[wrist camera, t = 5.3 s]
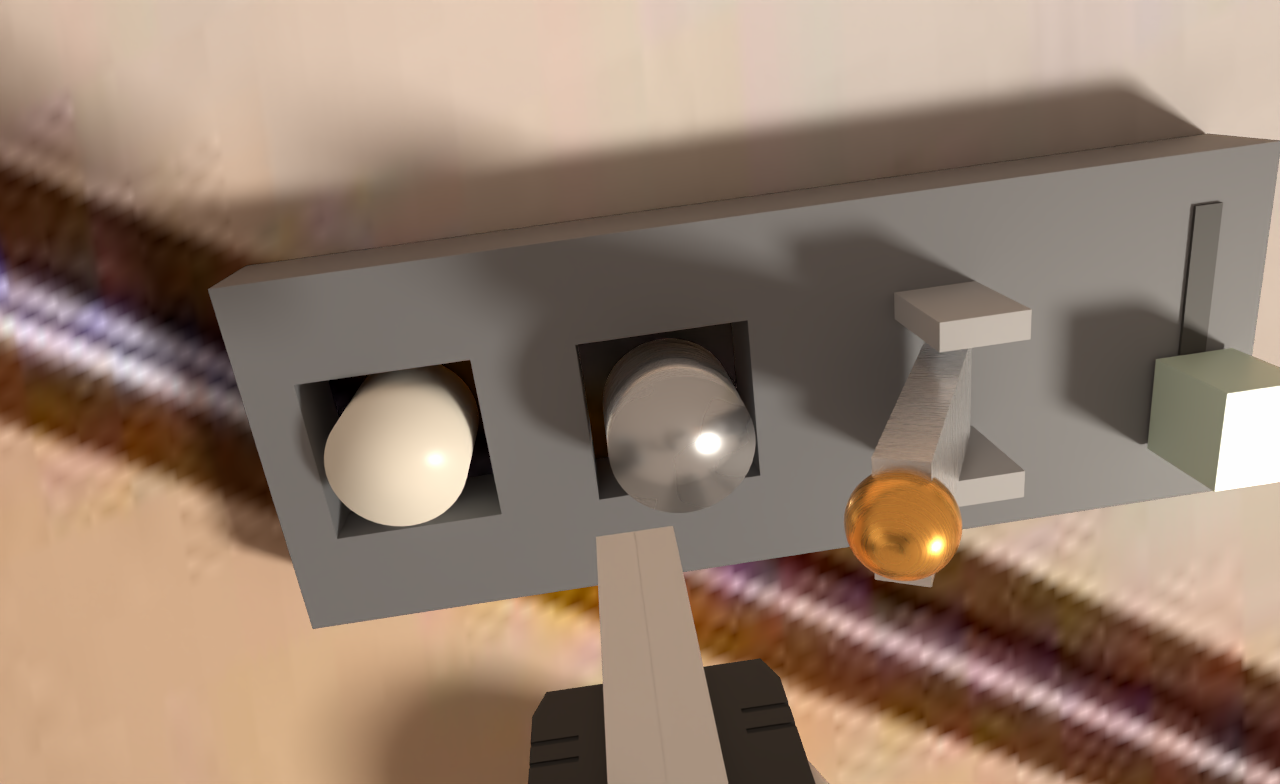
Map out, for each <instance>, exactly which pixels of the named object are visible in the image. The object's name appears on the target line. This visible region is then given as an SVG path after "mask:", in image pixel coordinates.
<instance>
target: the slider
mask: <svg viewBox="0 0 1280 784" xmlns="http://www.w3.org/2000/svg"><path fill="white" fill-rule="evenodd" d="M1147 449H1149V450H1150V451H1152V452H1153V453H1155V454H1156V455H1158V456H1160V457H1161V458H1163V459H1164V460H1166V461H1167V462H1169V463H1170V464H1172V465H1174V466H1175V467H1177V468H1178V469H1180V470H1181V471H1183V472H1184V473H1186V474H1188V475H1189V476H1191V477H1192V478H1194V479H1195V480H1197V481H1198V482H1200V483H1202V484H1203V485H1205V486H1206V487H1208V488H1209V489H1211V490H1212V491H1214V492H1216V491H1223V490H1229V489H1236V488H1242V487H1249V486H1255V485H1262V484H1269V483H1275V482H1280V367H1277V366H1275V365H1272V364H1270V363H1268V362H1265V361H1263V360H1260V359H1258V358H1255V357H1253V356H1251V355H1248V354H1246V353H1243V352H1241V351H1238V350H1236V349H1234V348H1228V349H1221V350H1214V351H1208V352H1201V353H1194V354H1187V355H1180V356H1174V357H1167V358H1160V359H1156V363H1155V373H1154V384H1153V394H1152V404H1151V415H1150V425H1149V435H1148V446H1147Z"/></svg>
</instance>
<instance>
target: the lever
mask: <svg viewBox="0 0 1280 784" xmlns="http://www.w3.org/2000/svg"><path fill="white" fill-rule="evenodd" d="M971 355H972V348H967V349H960V350H954V351H947V352H938V351H937V350H936V349H934V348H933V347H932V346H930V345H929V344H927V343H926V342H925V341H924V343H923V346H922V348H921V350H920V352H919V354H918V357H917V359H916V361H915V363H914V365H913V368H912V370H911V372H910V374H909V376H908V378H907V381H906V383H905V385H904V387H903V389H902V392H901V394H900V396H899V398H898V400H897V403H896V405H895V407H894V409H893V411H892V414H891V416H890V418H889V420H888V422H887V424H886V427H885V429H884V431H883V433H882V435H881V438H880V440H879V442H878V444H877V446H876V449H875V451H874V453H873V455H872V457H871V460H872V474H871V475H869V476H868V477H867V478H865V479H864V480H863V481H862V482H861V483H860V484H859V485H858V486H857V487H856V488H855V489H854V491H853V492H852V494H851V496H850V498H849V500H848V502H847V505H846V508H845V514H844V529H845V534H846V538H847V541H848V544H849V546H850V548H851V549H852V551H853V553H854V554H855V556H856V557H857V559H858V560H859V561H860V562H861V563H862V564H863V565H864V566H866V567H867V568H868V569H870V570H871V571H872V572H874V573H875V579H876V580H883V581H890V582H897V583H904V584H911V585H918V586H925V587H932V584H933V580H934V576H935V573H937V572H938V571H939V570H941V569H942V568H943V567H945V566H946V565H947V564H948V563H949V561H950V560H951V559H952V557H953V556H954V554H955V553H956V551H957V549H958V546H959V544H960V540H961V535H962V518H961V513H960V509H959V506H958V504H957V502H956V500H955V498H954V497H955V493H956V489H957V485H958V481H959V477H960V473H961V469H962V465H963V461H964V457H965V453H966V449H967V445H968V441H969V437H970V418H971Z"/></svg>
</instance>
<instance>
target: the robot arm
mask: <svg viewBox="0 0 1280 784" xmlns="http://www.w3.org/2000/svg"><path fill="white" fill-rule="evenodd" d="M596 547H597V569H598V590H599V611H600V633H601V654H602V675H603V684H599V685H592V686H585V687H579V688H572V689H565V690H559V691H552V692H546V694H545V696H544V698H543V699H542V701H541V703H540V705H539V706H538V708H537V710H536V711H535V713H534V715H533V717H532V732H531V748H530V769H529V779H528V784H816V783H815V780H814V777H813V774H812V772H811V769H810V766H809V763H808V760H807V757H806V754H805V751H804V748H803V745H802V742H801V739H800V736H799V733H798V730H797V727H796V726H795V721H794V718H793V715H792V712H791V709H790V706H789V705H788V700H787V697H786V694H785V691H784V688H783V685H782V682H781V679H780V677H779V676H778V675H777V674H776V673H775V672H774V671H773V670H772V669H771V668H770V667H768V666H767V665H766V664H765V663H764V662H763V661H762V660H761V659H754V660H747V661H740V662H733V663H727V664H720V665H713V666H706V667H703V663H702V659H701V654H700V649H699V645H698V640H697V635H696V631H695V626H694V621H693V617H692V612H691V607H690V603H689V598H688V594H687V589H686V584H685V580H684V575H683V570H682V566H681V561H680V556H679V552H678V547H677V542H676V538H675V533H674V528H673V526H668V527H661V528H654V529H647V530H640V531H633V532H627V533H620V534H613V535H606V536H599V537H596Z"/></svg>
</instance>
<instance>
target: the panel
mask: <svg viewBox="0 0 1280 784" xmlns="http://www.w3.org/2000/svg"><path fill="white" fill-rule="evenodd" d="M1279 157H1280V141H1279V140H1268V139H1258V138H1247V137H1237V136H1227V135H1216V134H1201V135H1194V136H1186V137H1179V138H1172V139H1165V140H1157V141H1150V142H1143V143H1136V144H1128V145H1121V146H1114V147H1106V148H1099V149H1092V150H1085V151H1077V152H1070V153H1063V154H1056V155H1048V156H1041V157H1034V158H1026V159H1019V160H1012V161H1005V162H997V163H990V164H983V165H976V166H968V167H961V168H954V169H946V170H939V171H932V172H925V173H917V174H910V175H903V176H896V177H888V178H881V179H874V180H866V181H859V182H852V183H845V184H837V185H830V186H823V187H815V188H808V189H801V190H794V191H786V192H779V193H772V194H765V195H757V196H750V197H743V198H735V199H728V200H721V201H714V202H706V203H699V204H692V205H685V206H677V207H670V208H663V209H655V210H648V211H641V212H634V213H626V214H619V215H612V216H605V217H597V218H590V219H583V220H575V221H568V222H561V223H554V224H546V225H539V226H532V227H525V228H517V229H510V230H503V231H495V232H488V233H481V234H474V235H466V236H459V237H452V238H445V239H437V240H430V241H423V242H415V243H408V244H401V245H394V246H386V247H379V248H372V249H365V250H357V251H350V252H343V253H335V254H328V255H321V256H314V257H306V258H299V259H292V260H285V261H277V262H270V263H263V264H255V265H248V266H245V267H243V268H242V269H240V270H238V271H237V272H235V273H233V274H232V275H230V276H229V277H227V278H225V279H224V280H222V281H220V282H219V283H217V284H216V285H214V286H212V287H211V288H209V289H208V291H209V295H210V298H211V301H212V304H213V308H214V311H215V314H216V317H217V321H218V324H219V327H220V330H221V333H222V337H223V340H224V343H225V346H226V350H227V353H228V356H229V359H230V363H231V366H232V369H233V372H234V376H235V379H236V382H237V385H238V389H239V392H240V395H241V398H242V402H243V405H244V408H245V411H246V414H247V418H248V421H249V424H250V427H251V431H252V434H253V437H254V440H255V444H256V447H257V450H258V453H259V457H260V460H261V463H262V466H263V470H264V473H265V476H266V479H267V482H268V486H269V489H270V492H271V495H272V499H273V502H274V505H275V508H276V512H277V515H278V518H279V521H280V525H281V528H282V531H283V534H284V538H285V541H286V544H287V547H288V550H289V554H290V557H291V560H292V563H293V567H294V570H295V573H296V576H297V580H298V583H299V586H300V589H301V593H302V596H303V599H304V602H305V606H306V609H307V612H308V615H309V618H310V622H311V625H312V628H313V629H316V628H322V627H329V626H335V625H342V624H348V623H355V622H361V621H368V620H374V619H381V618H387V617H394V616H400V615H407V614H413V613H420V612H427V611H433V610H440V609H446V608H453V607H459V606H466V605H472V604H479V603H485V602H492V601H498V600H505V599H511V598H518V597H524V596H531V595H537V594H544V593H550V592H557V591H563V590H570V589H576V588H583V587H589V586H596V585H598V569H597V547H596V537H599V536H606V535H613V534H620V533H627V532H633V531H640V530H647V529H654V528H661V527H668V526H673V528H674V533H675V538H676V542H677V547H678V552H679V556H680V561H681V566H682V570H683V572H687V571H694V570H700V569H707V568H713V567H720V566H726V565H733V564H739V563H746V562H752V561H759V560H765V559H772V558H779V557H785V556H792V555H798V554H805V553H811V552H818V551H824V550H831V549H837V548H844V547H850V546H849V544H848V541H847V538H846V534H845V529H844V514H845V508H846V505H847V502H848V500H849V498H850V496H851V494H852V492H853V491H854V489H855V488H856V487H857V486H858V485H859V484H860V483H861V482H862V481H863V480H864V479H865V478H867V477H868V476H869V475H871V474H872V460H871V457H872V455H873V453H874V451H875V449H876V446H877V444H878V442H879V440H880V438H881V435H882V433H883V431H884V429H885V427H886V424H887V422H888V420H889V418H890V416H891V414H892V411H893V409H894V407H895V405H896V403H897V400H898V398H899V396H900V394H901V392H902V389H903V387H904V385H905V383H906V381H907V378H908V376H909V374H910V372H911V370H912V368H913V365H914V363H915V361H916V359H917V357H918V354H919V352H920V350H921V348H922V346H923V343H924V341H925V342H926V343H927V344H929V345H930V346H932V347H933V348H934V349H936V350H937V351H938V352H947V351H954V350H960V349H967V348H972V355H971V418H970V437H969V441H968V445H967V449H966V453H965V457H964V461H963V465H962V469H961V473H960V477H959V481H958V485H957V489H956V493H955V497H954V498H955V500H956V502H957V504H958V506H959V509H960V513H961V518H962V529H968V528H974V527H981V526H987V525H994V524H1000V523H1007V522H1013V521H1020V520H1026V519H1033V518H1039V517H1046V516H1052V515H1059V514H1065V513H1072V512H1078V511H1085V510H1091V509H1098V508H1104V507H1111V506H1117V505H1124V504H1131V503H1137V502H1144V501H1150V500H1157V499H1163V498H1170V497H1176V496H1183V495H1189V494H1196V493H1202V492H1209V491H1212V490H1211V489H1209V488H1208V487H1206V486H1205V485H1203V484H1202V483H1200V482H1198V481H1197V480H1195V479H1194V478H1192V477H1191V476H1189V475H1188V474H1186V473H1184V472H1183V471H1181V470H1180V469H1178V468H1177V467H1175V466H1174V465H1172V464H1170V463H1169V462H1167V461H1166V460H1164V459H1163V458H1161V457H1160V456H1158V455H1156V454H1155V453H1153V452H1152V451H1150V450H1149V449H1147V446H1148V435H1149V425H1150V415H1151V404H1152V394H1153V384H1154V373H1155V363H1156V359H1160V358H1167V357H1174V356H1180V355H1187V354H1194V353H1201V352H1208V351H1214V350H1221V349H1228V348H1234V349H1236V350H1238V351H1241V352H1243V353H1246V354H1248V355H1251V356H1252V352H1253V345H1254V337H1255V330H1256V323H1257V316H1258V309H1259V301H1260V294H1261V287H1262V280H1263V273H1264V265H1265V258H1266V251H1267V244H1268V236H1269V229H1270V222H1271V215H1272V208H1273V200H1274V193H1275V186H1276V179H1277V172H1278V164H1279ZM725 323H731V325H732V336H733V347H734V359H735V370H736V382H737V392H738V394H739V396H740V398H741V400H742V401H743V403H744V405H745V407H746V409H747V411H748V413H749V415H750V417H751V419H752V422H753V425H754V430H755V439H756V445H755V453H754V457H753V461H752V464H751V466H750V469H749V471H748V473H747V474H746V476H745V478H744V479H743V481H742V482H741V483H740V484H739V486H738V487H737V488H736V489H735V490H734V491H733V492H732V493H731V494H729V495H728V496H727V497H726V498H724V499H723V500H721V501H719V502H718V503H716V504H714V505H712V506H710V507H707V508H704V509H701V510H698V511H693V512H686V513H669V512H662V511H658V510H655V509H652V508H649V507H647V506H645V505H643V504H641V503H639V502H638V501H636V500H635V499H633V498H632V497H631V496H630V495H629V494H628V493H627V492H626V491H625V490H624V489H623V488H622V487H621V485H620V484H619V483H618V481H617V479H616V478H615V476H614V474H613V471H612V468H611V465H610V461H609V457H603V458H596V457H595V451H594V444H593V438H592V431H591V425H590V418H589V412H588V406H587V399H586V393H585V386H584V380H583V373H582V367H581V360H580V354H579V348H578V344H585V343H592V342H599V341H606V340H613V339H620V338H627V337H634V336H641V335H648V334H655V333H662V332H669V331H676V330H683V329H690V328H697V327H704V326H711V325H718V324H725ZM466 360H470V361H471V366H472V371H473V376H474V380H475V385H476V390H477V395H478V400H479V405H480V410H481V415H482V420H483V425H484V430H485V435H486V439H487V444H488V449H489V454H490V459H491V464H492V469H493V474H488V475H481V476H475V477H468V478H467V479H466V482H465V485H464V488H463V490H462V492H461V494H460V495H459V497H458V498H457V500H456V501H455V502H454V504H453V505H452V506H451V507H450V508H449V509H447V510H446V511H445V512H444V513H442V514H441V515H439V516H438V517H436V518H434V519H432V520H430V521H427V522H424V523H421V524H416V525H412V526H389V525H383V524H379V523H375V522H373V521H370V520H367V519H365V518H363V517H361V516H359V515H358V514H356V513H355V512H353V511H352V510H350V509H349V508H348V507H347V506H346V505H345V504H344V503H343V502H342V501H341V500H340V499H339V498H338V497H337V495H336V494H335V492H334V491H333V489H332V487H331V486H330V484H329V481H328V478H327V476H326V472H325V467H324V451H325V446H326V442H327V439H328V437H329V434H330V432H331V431H332V429H333V427H334V426H335V424H336V423H337V421H338V420H339V418H338V414H337V410H336V406H335V403H334V399H333V395H332V392H331V388H330V384H329V380H333V379H340V378H347V377H354V376H361V375H368V374H375V373H382V372H389V371H396V370H403V369H410V368H417V367H424V366H431V365H438V364H445V363H452V362H459V361H466Z"/></svg>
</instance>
